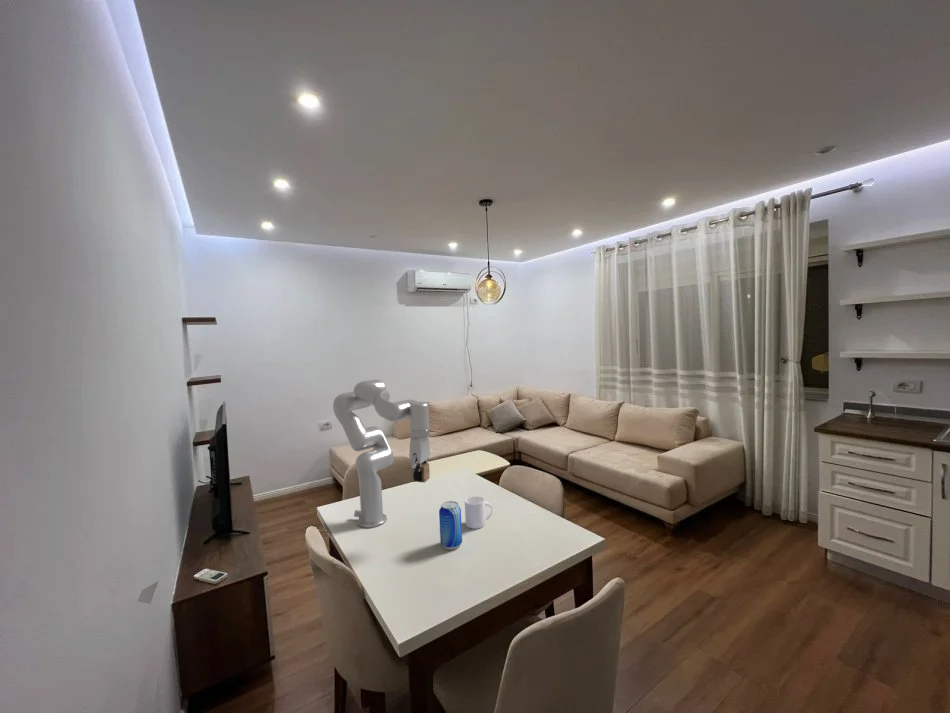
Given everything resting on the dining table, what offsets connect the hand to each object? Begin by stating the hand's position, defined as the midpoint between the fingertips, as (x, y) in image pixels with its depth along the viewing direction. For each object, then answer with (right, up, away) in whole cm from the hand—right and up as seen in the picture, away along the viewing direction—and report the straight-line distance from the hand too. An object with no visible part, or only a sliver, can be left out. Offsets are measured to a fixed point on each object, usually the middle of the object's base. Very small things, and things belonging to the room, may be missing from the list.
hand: (421, 477), depth 154 cm
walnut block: (0, -1, 0) cm, 1 cm away
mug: (+24, -24, +12) cm, 36 cm away
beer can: (+12, -25, -5) cm, 28 cm away
